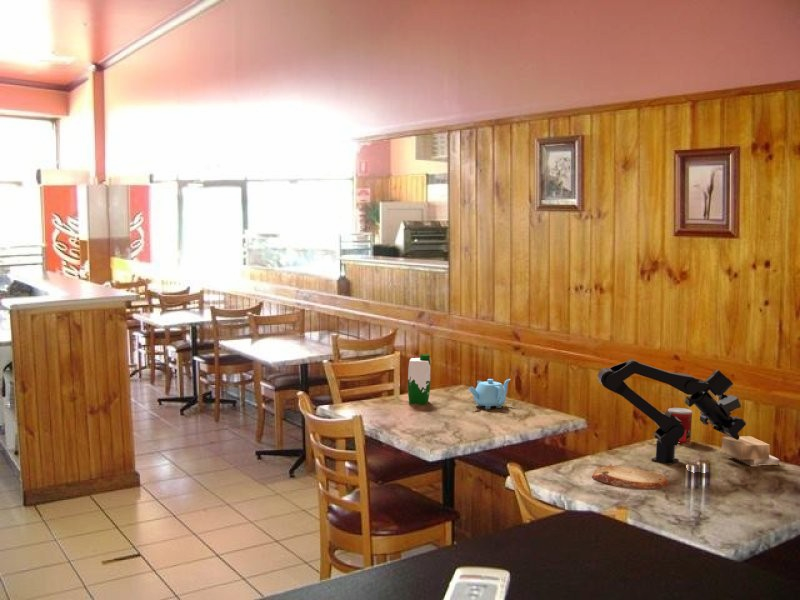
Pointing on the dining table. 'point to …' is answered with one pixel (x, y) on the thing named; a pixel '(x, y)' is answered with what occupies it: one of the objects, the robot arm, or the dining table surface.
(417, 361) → the milk carton
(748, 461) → the board
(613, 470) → the bread slice
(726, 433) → the robot arm
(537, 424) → the dining table surface
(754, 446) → the light brown wooden block
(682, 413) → the canned food
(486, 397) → the teapot
